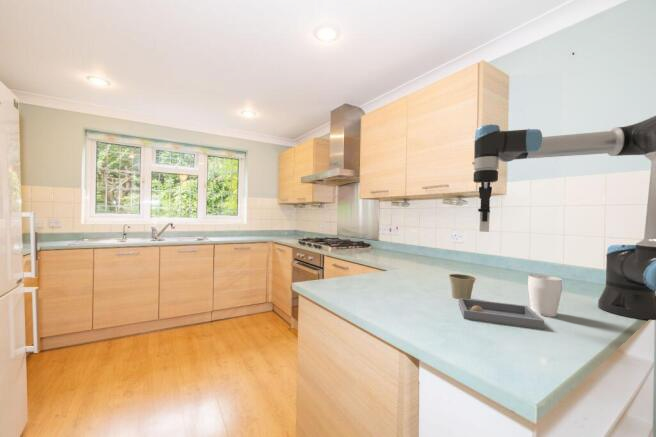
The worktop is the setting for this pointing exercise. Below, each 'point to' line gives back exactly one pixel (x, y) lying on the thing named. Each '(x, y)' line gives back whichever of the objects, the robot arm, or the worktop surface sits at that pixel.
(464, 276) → the flower pot
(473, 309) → the ball
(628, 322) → the worktop surface
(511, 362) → the worktop surface
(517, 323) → the tray
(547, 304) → the cup
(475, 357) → the worktop surface
